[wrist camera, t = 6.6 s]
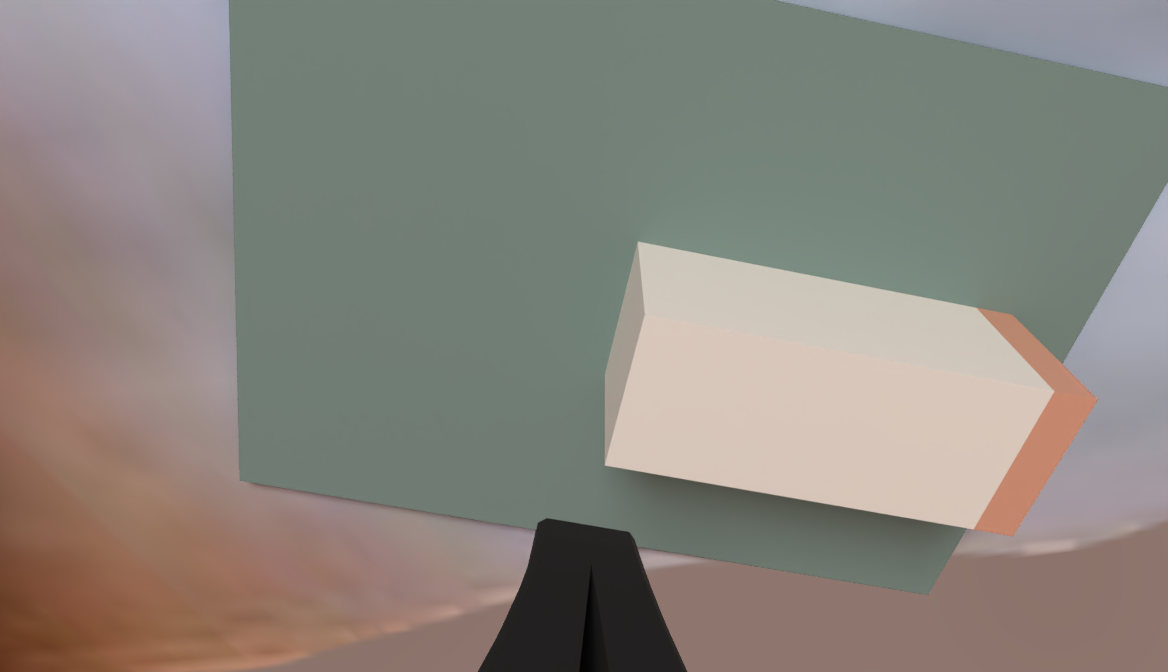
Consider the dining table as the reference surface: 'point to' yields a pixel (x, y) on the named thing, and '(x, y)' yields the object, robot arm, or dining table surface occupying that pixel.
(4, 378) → the dining table surface
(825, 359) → the cream block
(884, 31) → the green mat
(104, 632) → the dining table surface
